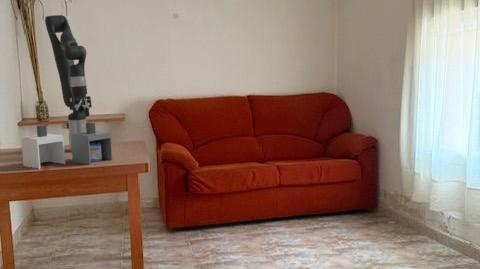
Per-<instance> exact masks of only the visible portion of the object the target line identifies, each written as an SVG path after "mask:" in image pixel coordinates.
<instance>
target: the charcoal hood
mask: <svg viewBox="0 0 480 269" xmlns="http://www.w3.org/2000/svg"><path fill="white" fill-rule="evenodd" d="M89 143H100V144H101V155H102V159H103V160H106V161H107V160H108V161H113V160H114V159H113V157H114V156H113V144H112V143H113V142H112V132H109V131H102V130H101V131H100V130H99V131H98V130H96V122H90V121H89V122H86V132H82V133H74V134H71V144H72V151H71V154H72V162H73V163H77V164H83V165H87V166H88V165H89V166H90V165H92V162H91V159H90V144H89Z"/></svg>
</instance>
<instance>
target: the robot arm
mask: <svg viewBox="0 0 480 269" xmlns="http://www.w3.org/2000/svg"><path fill="white" fill-rule="evenodd" d="M44 24H45V27H46V31H47V34H48V37H49V40H50V43H51V47H52V52H53V57H54V61H55V65H56V69H57V72H58V76H59V81H60V87H61V93H62V99H63V100H62V101H63V103H64V105H65V107H67V108H69V110H70V111H72V112H71V113H69V114H68V115H67V116H68V117H67V121H68V131H69V132H68V143H69V144H68V145H69V146H68V147H69V151H70V152H72V144H71V134H74V133H82V132H86V123H87V117H90V109H91V108H92V107H93V106H92V100H91V96H90V95H88V87H87V78H86V72H85V63H86V57H87V49H86V48H85V47H84V45H79V44H78V41H77V40H76V38H75V37H74V35H73V32H72V30H71V27H70V23H69V21H68V19H67V17H66V16H65V15H63V14H61V15H60V14H59V15H58V14H57V15H47V16H45V18H44ZM57 33H59V34H60V33H61V35H60V40H59V38H58V35H57ZM75 61H78V62H77V63H76V64H75Z"/></svg>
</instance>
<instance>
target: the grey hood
mask: <svg viewBox="0 0 480 269" xmlns="http://www.w3.org/2000/svg"><path fill="white" fill-rule="evenodd" d="M47 130H48V129H47V125H46V124H45V125H44V124H40V125H36V132H37V133H36V134H34V135H28V136H21V138H20V139H21V140H20V142H21V153H22V163H23V167H27V168H31V167H32V169H36V168H38V169H37V170H41V169H40V168H41V164H44V163H49V162H50V163H55V164H62V165H66V156H65V155H66V154H65V153H66V152H65V141H64V140H65V139H64V135H62V134H54V133H48V131H47ZM43 162H44V163H43Z"/></svg>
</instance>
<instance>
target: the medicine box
mask: <svg viewBox="0 0 480 269" xmlns="http://www.w3.org/2000/svg"><path fill="white" fill-rule="evenodd" d="M89 144H90V159H91V163H93V162H102V155H101V144H100V143H89Z"/></svg>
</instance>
